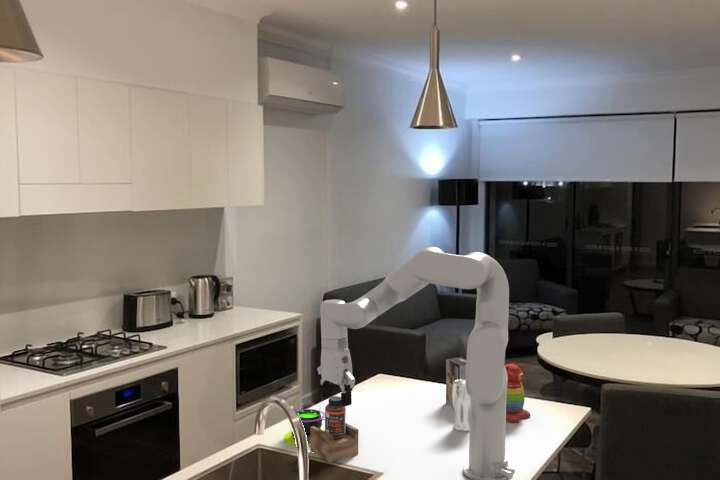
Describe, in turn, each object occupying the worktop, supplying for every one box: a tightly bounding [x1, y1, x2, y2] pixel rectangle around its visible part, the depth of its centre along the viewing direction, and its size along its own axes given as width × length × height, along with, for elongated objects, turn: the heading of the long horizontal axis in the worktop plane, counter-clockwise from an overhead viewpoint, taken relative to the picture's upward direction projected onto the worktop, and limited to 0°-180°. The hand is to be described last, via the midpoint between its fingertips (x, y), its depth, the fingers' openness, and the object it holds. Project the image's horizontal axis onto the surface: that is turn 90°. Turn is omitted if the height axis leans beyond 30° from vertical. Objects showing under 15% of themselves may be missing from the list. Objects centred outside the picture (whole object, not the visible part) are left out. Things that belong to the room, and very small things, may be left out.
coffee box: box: [445, 356, 467, 407], centre depth 233 cm, size 9×6×16 cm
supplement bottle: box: [324, 395, 347, 439], centre depth 192 cm, size 6×6×11 cm
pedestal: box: [309, 422, 359, 463], centre depth 192 cm, size 10×10×7 cm
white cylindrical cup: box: [452, 379, 470, 433], centre depth 212 cm, size 7×7×15 cm
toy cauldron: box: [283, 400, 325, 447], centre depth 204 cm, size 15×15×11 cm
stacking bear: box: [504, 362, 531, 424], centre depth 223 cm, size 11×10×18 cm
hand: (336, 401), depth 191 cm, fingers open, 9 cm apart
